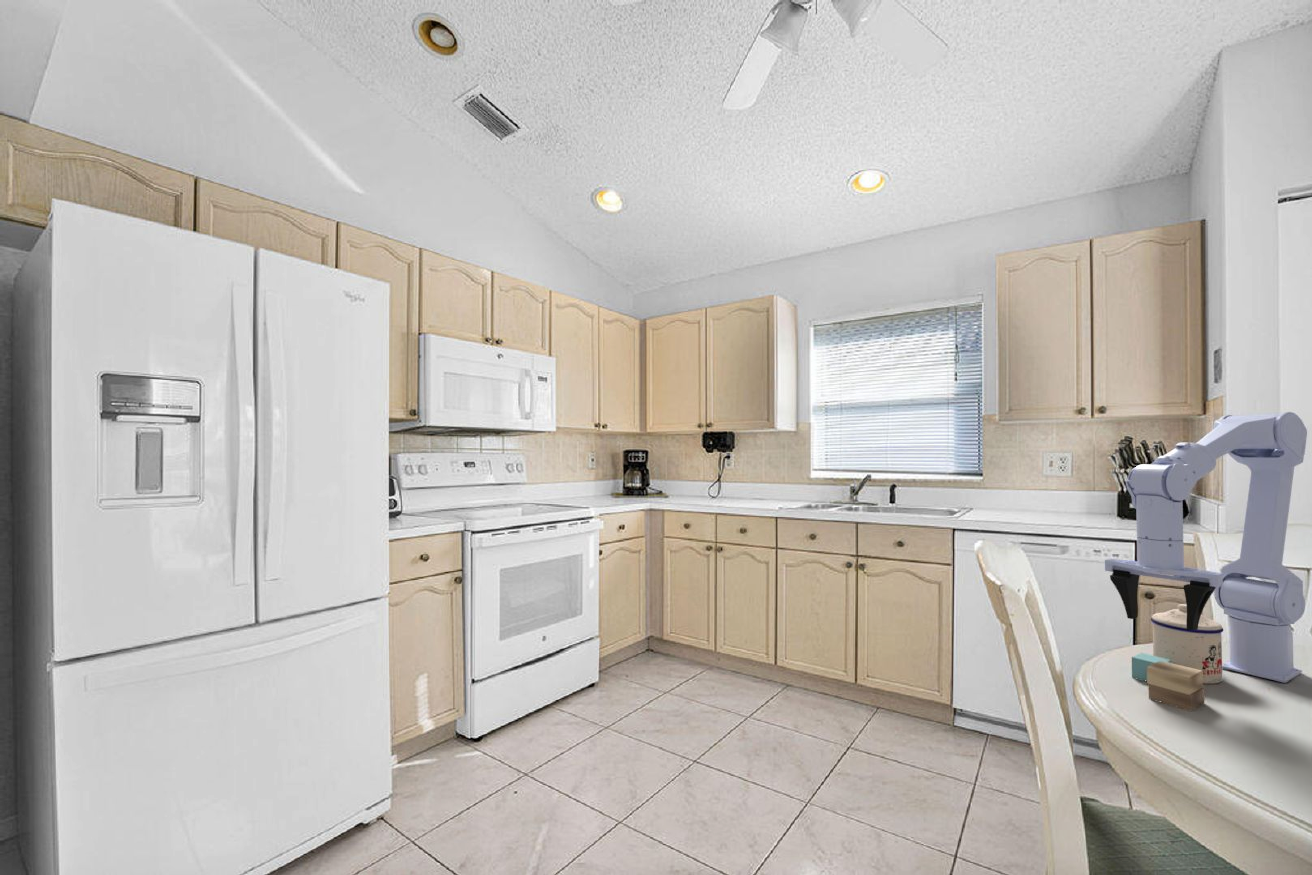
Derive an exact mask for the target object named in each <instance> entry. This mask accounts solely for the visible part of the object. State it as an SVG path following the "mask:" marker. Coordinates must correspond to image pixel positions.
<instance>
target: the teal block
mask: <svg viewBox="0 0 1312 875" xmlns="http://www.w3.org/2000/svg"><path fill="white" fill-rule="evenodd" d="M1159 661H1164V662H1168V663H1172V660H1169V659H1165V658H1161V657H1157V656H1153V654H1148V653H1143V652H1140V653H1138V654H1135V655H1133V656H1131V678H1132V677H1133V678H1132V679H1135V678H1137V679H1136V680H1139V679H1140V681H1142V680H1146V681H1147V666H1150V665H1152V664H1154V663H1156V662H1159ZM1146 681H1145V682H1146Z"/></svg>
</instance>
